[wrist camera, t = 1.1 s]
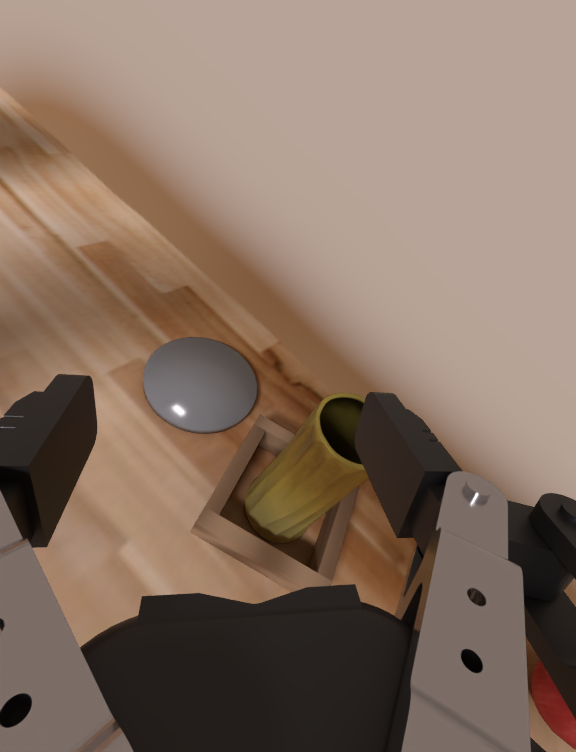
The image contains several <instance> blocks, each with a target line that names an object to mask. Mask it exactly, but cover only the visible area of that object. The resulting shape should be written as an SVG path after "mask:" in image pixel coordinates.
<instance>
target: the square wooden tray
mask: <svg viewBox="0 0 576 752" xmlns="http://www.w3.org/2000/svg"><path fill="white" fill-rule="evenodd" d="M293 437H294V434H293V433H291V432H289V431H288V430H286V429H284V428H282V427H281V426H279V425H277V424H276V423H274V422H272V421H271V420H269V419H267V418H265V417H264V416H262V415H259V417H258V419H257V420H256V422H255V424H254V425H253V427H252V429H251V430H250V432H249V434H248V435H247V437H246V439H245V440H244V442H243V444H242V445H241V447H240V449H239V451H238V452H237V454H236V456H235V457H234V459H233V461H232V462H231V464H230V466H229V467H228V469H227V471H226V472H225V474H224V476H223V477H222V479H221V481H220V482H219V484H218V486H217V487H216V489H215V491H214V492H213V494H212V496H211V497H210V499H209V501H208V503H207V504H206V506H205V508H204V509H203V511H202V513H201V514H200V516H199V518H198V519H197V521H196V523H195V524H194V526H193V528H192V530H191V533H193V534H194V535H196V536H198V537H199V538H201V539H203V540H205V541H206V542H208V543H210V544H211V545H213V546H215V547H217V548H218V549H220V550H222V551H223V552H225V553H227V554H229V555H230V556H232V557H234V558H235V559H237V560H239V561H241V562H242V563H244V564H246V565H247V566H249V567H251V568H253V569H254V570H256V571H258V572H259V573H261V574H263V575H264V576H266V577H268V578H270V579H271V580H273V581H275V582H276V583H278V584H280V585H282V586H283V587H285V588H287V589H288V590H290V591H292V592H294V591H297V590H300V589H303V588H306V587H318V586H330V585H331V582H332V578H333V575H334V572H335V568H336V565H337V561H338V558H339V554H340V551H341V547H342V544H343V540H344V537H345V533H346V530H347V527H348V523H349V520H350V516H351V513H352V509H353V506H354V502H355V499H356V495H357V492H358V489H359V486H357V487H356V488H355V489H353V490H352V491H351V492H350V493H349V494H348V495H347V496H345V497H344V498H343V499H342V500H340V501H339V502H338V503H337V504H335V505H334V506H333V507H332V508H330V509H329V510H328V511H327V512H326V515H325V518H324V521H323V524H322V527H321V530H320V533H319V536H318V539H317V542H316V545H315V548H314V551H313V554H312V556H311V559H310V562H309V565H308V567H307V566H305V565H303V564H302V563H300V562H298V561H297V560H295V559H293V558H291V557H290V556H288V555H286V554H285V553H283V552H281V551H279V550H278V549H276V548H274V547H273V546H271V545H269V544H267V543H266V542H264V541H262V540H261V539H259V538H257V537H256V536H254V535H252V534H250V533H249V532H247V531H245V530H244V529H242V528H240V527H238V526H237V525H235V524H233V523H232V522H230V521H228V520H226V519H225V518H223V517H221V516H220V515H219V514H220V512H221V510H222V509H223V507H224V505H225V503H226V501H227V500H228V498H229V496H230V494H231V492H232V491H233V489H234V487H235V485H236V483H237V482H238V480H239V478H240V476H241V475H242V473H243V471H244V469H245V467H246V466H247V464H248V462H249V460H250V458H251V457H252V455H253V453H254V451H255V449H256V448H257V446H258V445H259V446H260V447H262V448H264V449H265V450H267V451H269V452H271V453H272V454H274V455H276V456H278V455H279V454H280V453H281V452H282V450H283V449H284V448H285V447H286V446H287V444H288V443H289V442H290V441H291V439H292V438H293Z"/></svg>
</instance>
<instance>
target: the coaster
mask: <svg viewBox="0 0 576 752" xmlns="http://www.w3.org/2000/svg"><path fill="white" fill-rule="evenodd" d="M143 389H144V394H145V397H146V399H147V401H148V403H149V405H150V406H151V408H152V409H153V410H154V412H155V413H156V414H157V415H158V416H159V417H160V418H162V419H163V420H164V421H166V422H167V423H169V424H170V425H172V426H174V427H176V428H178V429H181V430H184V431H188V432H192V433H199V434H210V433H218V432H222V431H225V430H228V429H230V428H232V427H234V426H236V425H237V424H239V423H240V422H241V421H242V420H243V419H244V418H245V417H246V416H247V415H248V413H249V412H250V410H251V408H252V406H253V404H254V402H255V399H256V395H257V382H256V378H255V375H254V372H253V370H252V368H251V367H250V365H249V364H248V362H247V361H246V360H245V359H244V358H243V357H242V356H241V355H240V354H239V353H238V352H236V351H235V350H234V349H232V348H231V347H229V346H227V345H225V344H223V343H220V342H218V341H215V340H211V339H207V338H199V337H188V338H181V339H177V340H174V341H171V342H168V343H166V344H164V345H163V346H161V347H160V348H158V349H157V350H156V351H155V352H154V353H153V354H152V355H151V357H150V358H149V360H148V361H147V364H146V366H145V370H144V376H143Z"/></svg>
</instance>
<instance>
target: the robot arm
mask: <svg viewBox="0 0 576 752" xmlns="http://www.w3.org/2000/svg"><path fill="white" fill-rule="evenodd" d="M96 435H97V417H96V407H95V398H94V389H93V382H92V378H91V377H90V376H84V375H66V374H58V375H57V376H56V377H55V378H54V379H53V381H52V382H51V383H50V384H49V386H48V387H47V388H46V389H45V391H44V392H37V391H34V392H32V393H30V394H29V395H27V396H25V397H23V398H22V399H20V400H18V401H16V402H15V403H14V404H13V405H12V406H11V408H10V409H9V410H8V411H7V412H6V413H5V414H4V418H1V419H0V752H546V751H545V750H544V749H542V748H541V747H540V746H539V745H538V744H537V743H536V742H535V741H534V740H533V739H532V738H531V737H530V723H529V701H528V680H527V658H526V637H527V639H528V640H529V642H530V644H531V645H532V647H533V649H534V650H535V652H536V654H537V656H538V657H539V659H540V661H541V662H542V664H543V666H544V667H545V669H546V671H547V672H548V674H549V676H550V677H551V679H552V681H553V683H554V684H555V686H556V688H557V689H558V691H559V693H560V694H561V696H562V698H563V699H564V701H565V703H566V704H567V706H568V708H569V710H570V711H571V713H572V715H573V716H574V718H575V720H576V607H575V606H574V604H573V603H572V602H571V600H570V599H569V597H568V596H567V595H566V593H565V592H564V590H565V589H566V587H567V586H568V585H569V584H570V582H571V581H572V580H573V579H574V578H575V579H576V501H575V500H573V499H571V498H568V497H566V496H563V495H559V494H554V493H549V494H544V495H542V496H541V498H540V499H539V501H538V502H537V504H536V505H535V507H532V506H527V505H523V504H520V503H515V502H511V501H508V500H506V498H505V496H504V494H503V493H502V492H501V491H500V490H499V489H498V488H497V487H496V486H495V485H494V484H493V483H491V482H490V481H488V480H486V479H485V478H483V477H481V476H479V475H476V474H473V473H470V472H464V471H462V470H461V468H460V467H459V466H458V465H457V463H456V462H455V461H454V460H453V458H452V457H451V456H450V454H449V453H448V452H447V450H446V449H445V448H444V447H443V445H442V444H441V443H440V442H438V439H437V438H436V436H435V435H434V434H433V433H431V430H430V429H429V428H428V426H427V425H426V424H425V423H424V421H423V420H422V419H421V418H419V417H418V416H417V415H415V414H414V413H413V412H411V411H410V410H408V409H405V407H404V406H403V405H402V403H401V402H400V401H399V399H398V398H397V397H396V395H395V394H393V393H376V392H370V393H369V394H367V396H366V398H365V402H364V405H363V408H362V412H361V415H360V419H359V422H358V425H357V429H356V433H355V448H356V451H357V454H358V456H359V458H360V460H361V462H362V464H363V466H364V469H365V471H366V473H367V475H368V477H369V479H370V481H371V484H372V486H373V488H374V490H375V492H376V494H377V497H378V499H379V501H380V503H381V505H382V507H383V509H384V512H385V514H386V516H387V518H388V520H389V522H390V524H391V527H392V529H393V531H394V533H395V535H396V537H397V538H414V539H415V541H416V543H417V544H416V546H415V548H414V550H413V553H412V556H411V560H410V564H409V567H408V571H407V575H406V578H405V582H404V585H403V589H402V593H401V596H400V600H399V603H398V607H397V610H396V613H395V616H394V615H392V614H390V613H389V612H386V611H384V610H382V609H380V608H378V607H375V606H372V605H370V604H367V603H363V602H360V598H359V595H358V592H357V589H356V586H355V584H353V585H335V586H318V587H306V588H303V589H300V590H297V591H294V592H291V593H289V594H286V595H283V596H280V597H277V598H274V599H271V600H268V601H265V602H262V603H259V604H250V603H245V602H240V601H235V600H230V599H225V598H220V597H215V596H210V595H206V594H201V593H193V594H176V595H158V596H142V599H141V605H140V610H139V615H138V616H136V617H133V618H130V619H127V620H125V621H123V622H121V623H118V624H116V625H114V626H112V627H110V628H108V629H107V630H105V631H103V632H101V633H100V634H98V635H97V636H95V637H94V638H92V639H91V640H90V641H88V642H87V643H85V644H84V645H83V646H81V647H79V645H78V643H77V641H76V639H75V637H74V635H73V633H72V630H71V628H70V626H69V624H68V622H67V620H66V618H65V616H64V614H63V612H62V609H61V607H60V605H59V603H58V601H57V599H56V597H55V595H54V593H53V591H52V588H51V586H50V584H49V582H48V580H47V578H46V576H45V574H44V572H43V570H42V567H41V565H40V563H39V561H38V559H37V557H36V555H35V553H34V551H33V549H32V548H33V547H47V546H48V543H49V541H50V539H51V537H52V535H53V533H54V530H55V528H56V526H57V524H58V522H59V520H60V518H61V515H62V513H63V511H64V509H65V507H66V505H67V502H68V500H69V498H70V496H71V494H72V492H73V489H74V487H75V485H76V483H77V481H78V479H79V476H80V474H81V472H82V470H83V468H84V466H85V464H86V461H87V459H88V457H89V455H90V453H91V451H92V448H93V446H94V444H95V440H96ZM525 635H526V636H525Z"/></svg>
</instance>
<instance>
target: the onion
mask: <svg viewBox="0 0 576 752" xmlns="http://www.w3.org/2000/svg"><path fill="white" fill-rule="evenodd" d="M531 690H532V698H533V700H534V702H535V705H536V707H537V709H538V712H539V714H540V715H541V717H542V718H543V719H544V721H545V722H546V723H547V725H548V726H549V727H550V729H551V730H552V731H553V732H554V733H555V734H557V735H558V736H559V737H560V738H561V739H563V740H564V741H565V742H566V743H567V744H569V745H570V746H571V747H572V748H574V749H576V720H575V718H574V716H573V715H572V713H571V711H570V710H569V708H568V706H567V704H566V703H565V701H564V699H563V698H562V696H561V694H560V693H559V691H558V689H557V688H556V686H555V684H554V683H553V681H552V679H551V677H550V676H549V674H548V672H547V671H546V669H545V667H544V666H543V664H542V662H541V661H540V660H539V661H538V663H537V665H536V666H535V668H534V670H533V673H532V678H531Z"/></svg>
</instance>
